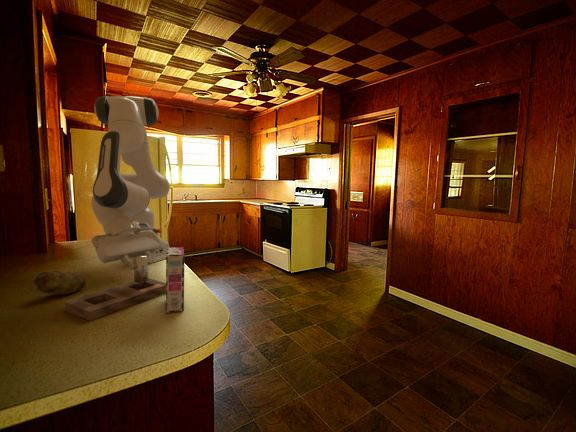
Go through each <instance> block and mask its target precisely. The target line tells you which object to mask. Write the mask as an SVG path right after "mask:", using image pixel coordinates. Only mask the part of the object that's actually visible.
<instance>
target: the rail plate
mask: <svg viewBox="0 0 576 432" xmlns="http://www.w3.org/2000/svg"><path fill="white" fill-rule="evenodd" d="M165 292H166V282H163V281H160V280H157V279H152V278H150V277H148V281H146V282H141V283H137V282H134V280H133V281H130V282H126V283H123V284H119V285H116V286H113V287H109V288H107V289H102V290H100V291H95V292H93V293H89V294H86V295H83V296H79V297H75V298H73V299H69V300H66V301H64V309H65V311H66V312H68V313H71V314H73V315H75V316H78V317H79V318H82V319H84V320H87V321H90V322H91V321H93V320H96V319H99V318H101V317H104V316H108V315H109V314H112V313H115V312H118V311H120V310H123V309H125V308H129V307H131V306H135V305H137V304H139V303H143V302H146V301H147V299H148V300H150V298H151V299H154V298H156V297H158V296H157V295H159V296H161V295H163V294H162V293H164V294H166V293H165ZM160 294H161V295H160ZM155 296H156V297H155ZM142 301H143V302H142Z"/></svg>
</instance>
